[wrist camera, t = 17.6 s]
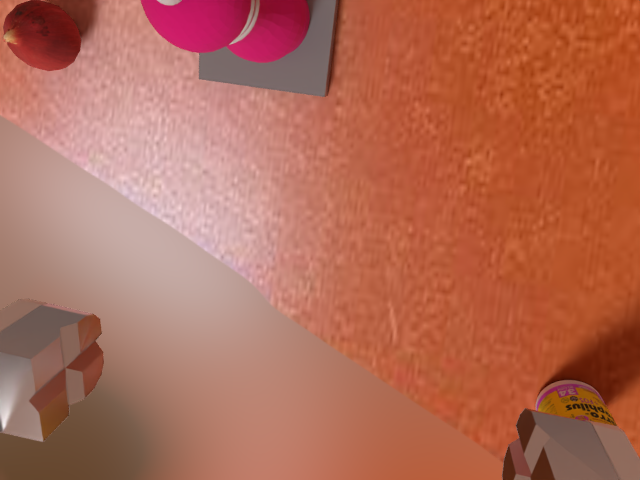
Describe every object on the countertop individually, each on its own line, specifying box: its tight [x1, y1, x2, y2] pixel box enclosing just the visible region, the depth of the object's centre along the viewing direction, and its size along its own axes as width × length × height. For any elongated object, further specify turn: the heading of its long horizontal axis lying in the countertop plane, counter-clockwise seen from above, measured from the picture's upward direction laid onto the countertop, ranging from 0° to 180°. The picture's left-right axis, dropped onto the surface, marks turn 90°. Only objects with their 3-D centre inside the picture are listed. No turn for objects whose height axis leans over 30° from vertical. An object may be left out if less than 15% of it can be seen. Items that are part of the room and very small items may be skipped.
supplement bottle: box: [536, 380, 617, 426], centre depth 44 cm, size 7×7×13 cm
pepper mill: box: [141, 0, 310, 63], centre depth 31 cm, size 7×7×20 cm
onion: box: [2, 0, 81, 71], centre depth 42 cm, size 6×6×8 cm
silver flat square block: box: [199, 0, 339, 97], centre depth 40 cm, size 12×12×2 cm
